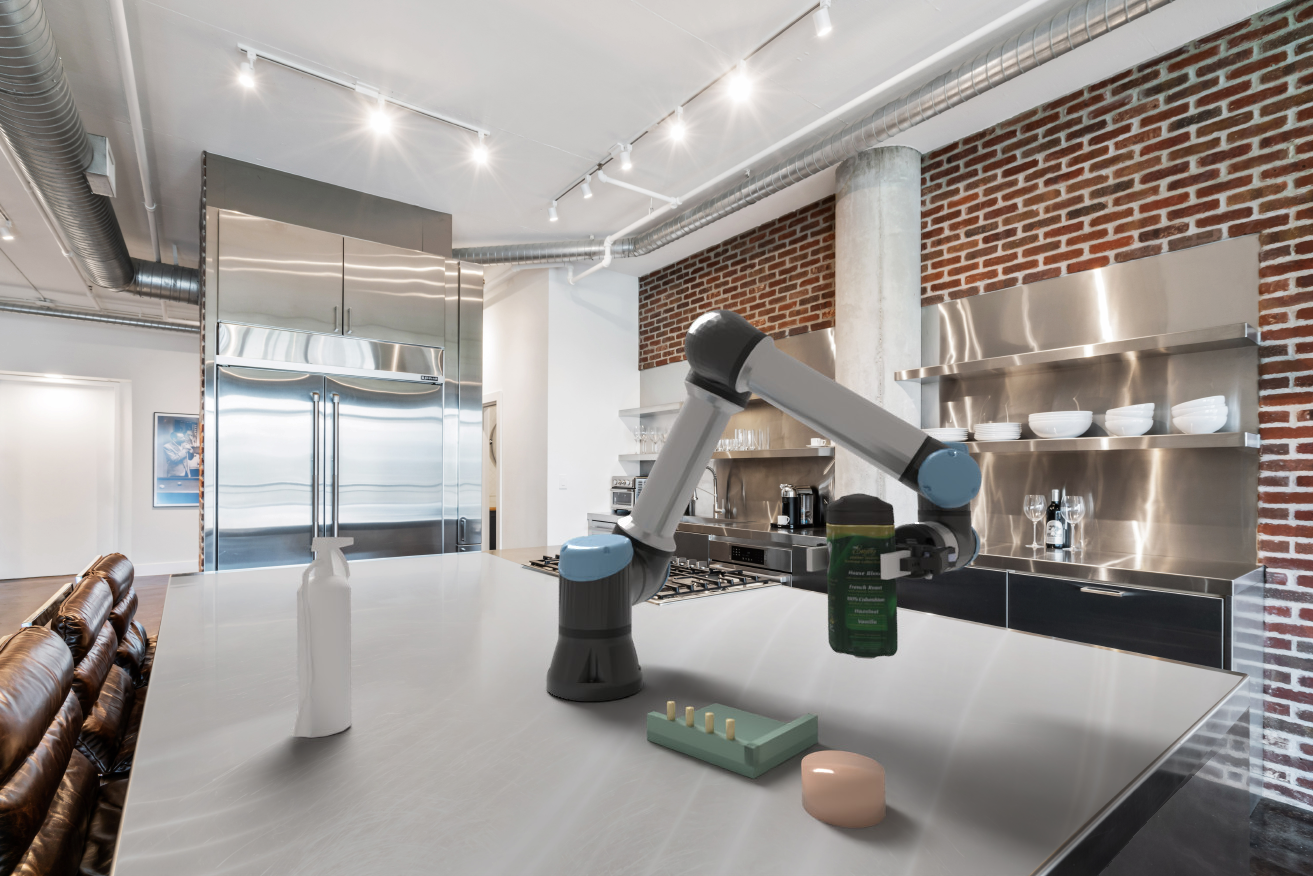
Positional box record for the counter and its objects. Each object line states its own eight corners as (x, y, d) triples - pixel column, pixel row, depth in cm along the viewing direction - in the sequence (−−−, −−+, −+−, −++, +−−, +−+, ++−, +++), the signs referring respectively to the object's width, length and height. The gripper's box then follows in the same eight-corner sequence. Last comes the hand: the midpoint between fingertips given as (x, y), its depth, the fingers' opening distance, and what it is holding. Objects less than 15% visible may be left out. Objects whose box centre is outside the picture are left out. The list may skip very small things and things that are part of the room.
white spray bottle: (262, 749, 79) (271, 540, 80) (320, 714, 91) (327, 533, 93) (316, 751, 78) (324, 540, 80) (367, 715, 90) (373, 533, 92)
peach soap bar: (786, 809, 65) (786, 767, 65) (826, 782, 71) (825, 744, 71) (863, 838, 59) (862, 793, 60) (899, 807, 65) (898, 765, 65)
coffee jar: (904, 662, 72) (898, 493, 73) (829, 658, 74) (825, 494, 75) (893, 642, 81) (888, 492, 83) (827, 639, 83) (823, 493, 85)
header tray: (647, 739, 82) (647, 697, 82) (715, 711, 92) (715, 673, 92) (753, 778, 71) (753, 729, 71) (817, 742, 81) (817, 699, 82)
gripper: (1003, 585, 85) (940, 608, 68) (849, 569, 99) (767, 586, 83) (1002, 526, 85) (939, 535, 69) (849, 520, 100) (766, 526, 83)
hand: (845, 563), depth 76 cm, fingers closed on coffee jar, 9 cm apart
